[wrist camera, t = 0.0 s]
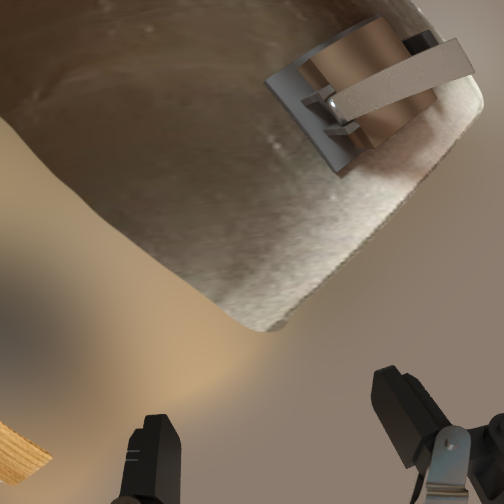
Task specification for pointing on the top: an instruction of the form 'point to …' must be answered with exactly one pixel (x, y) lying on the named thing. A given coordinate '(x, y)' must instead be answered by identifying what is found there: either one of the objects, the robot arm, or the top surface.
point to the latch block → (342, 76)
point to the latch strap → (401, 81)
